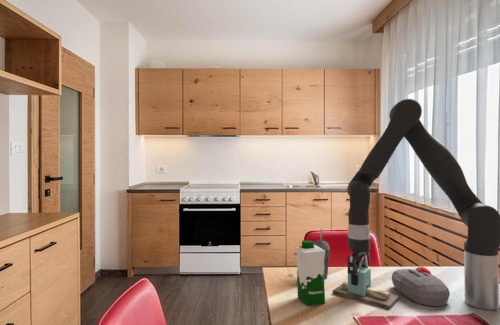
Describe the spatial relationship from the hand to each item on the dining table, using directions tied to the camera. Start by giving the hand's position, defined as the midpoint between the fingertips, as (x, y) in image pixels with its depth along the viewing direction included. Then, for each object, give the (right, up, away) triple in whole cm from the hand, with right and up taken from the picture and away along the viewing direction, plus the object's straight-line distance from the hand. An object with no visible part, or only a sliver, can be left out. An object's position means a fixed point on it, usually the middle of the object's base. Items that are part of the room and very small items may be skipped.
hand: (359, 281), depth 116 cm
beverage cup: (-10, -5, +18) cm, 21 cm away
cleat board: (+2, -5, -1) cm, 5 cm away
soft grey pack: (+21, -5, -1) cm, 22 cm away
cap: (+29, -5, +12) cm, 32 cm away
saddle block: (0, -4, 0) cm, 4 cm away
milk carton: (-18, -5, -4) cm, 19 cm away
